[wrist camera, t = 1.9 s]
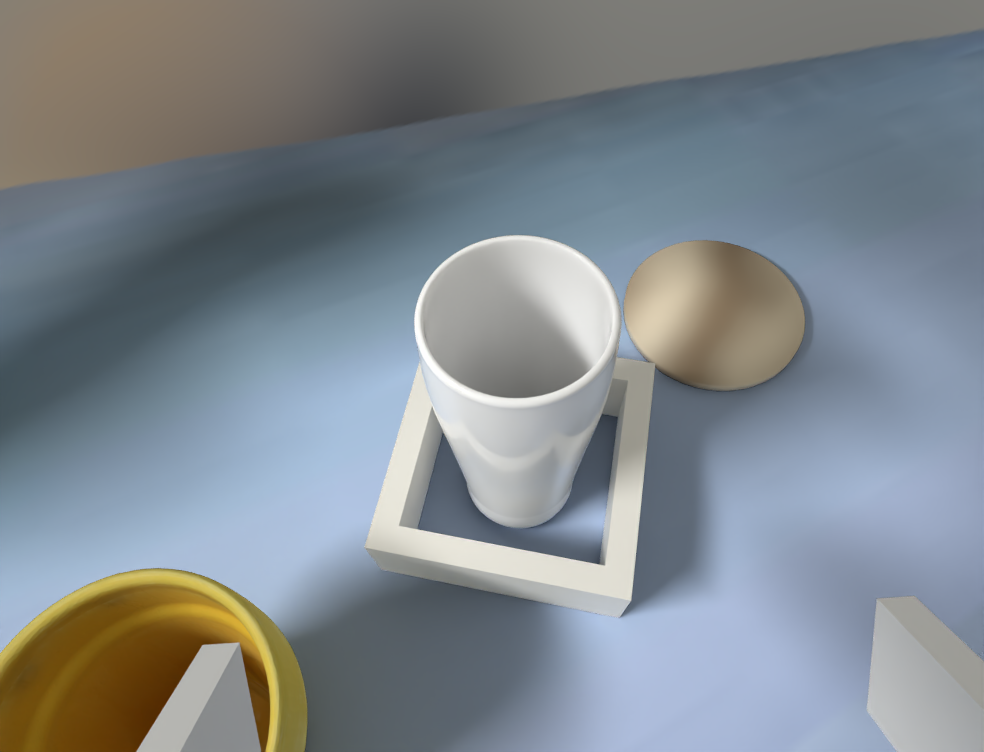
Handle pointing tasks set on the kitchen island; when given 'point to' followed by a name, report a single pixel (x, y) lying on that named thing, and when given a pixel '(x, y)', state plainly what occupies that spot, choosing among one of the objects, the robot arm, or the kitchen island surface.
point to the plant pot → (139, 664)
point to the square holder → (507, 567)
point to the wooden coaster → (713, 315)
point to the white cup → (518, 368)
